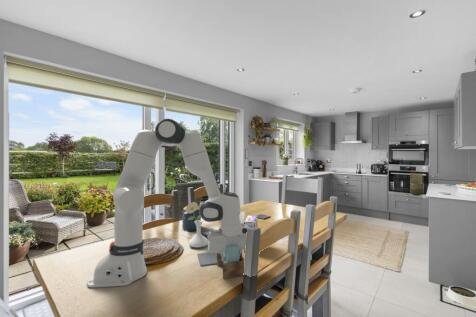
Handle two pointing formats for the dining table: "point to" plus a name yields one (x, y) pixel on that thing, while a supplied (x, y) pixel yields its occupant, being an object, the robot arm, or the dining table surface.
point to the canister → (190, 224)
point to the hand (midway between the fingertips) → (230, 259)
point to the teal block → (231, 253)
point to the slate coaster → (207, 259)
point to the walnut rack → (231, 267)
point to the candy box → (251, 222)
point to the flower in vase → (198, 238)
